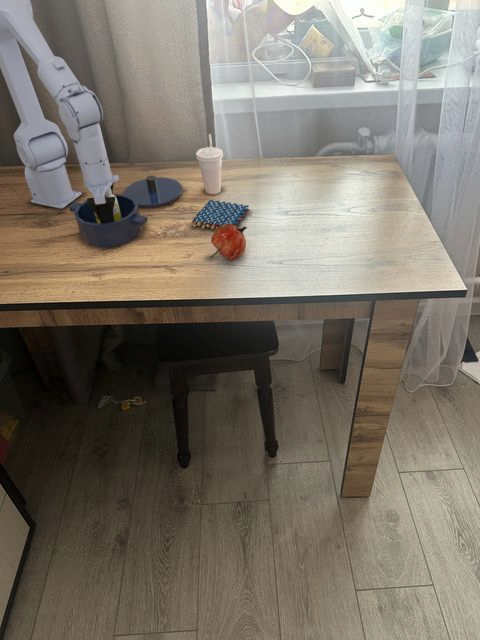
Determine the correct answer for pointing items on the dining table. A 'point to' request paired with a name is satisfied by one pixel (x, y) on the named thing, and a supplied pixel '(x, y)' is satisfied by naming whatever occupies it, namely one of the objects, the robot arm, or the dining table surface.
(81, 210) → the pan
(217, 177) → the smoothie
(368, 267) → the dining table surface
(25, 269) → the dining table surface
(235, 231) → the pomegranate
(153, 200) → the pan lid
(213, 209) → the woven mat
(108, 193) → the supplement bottle
